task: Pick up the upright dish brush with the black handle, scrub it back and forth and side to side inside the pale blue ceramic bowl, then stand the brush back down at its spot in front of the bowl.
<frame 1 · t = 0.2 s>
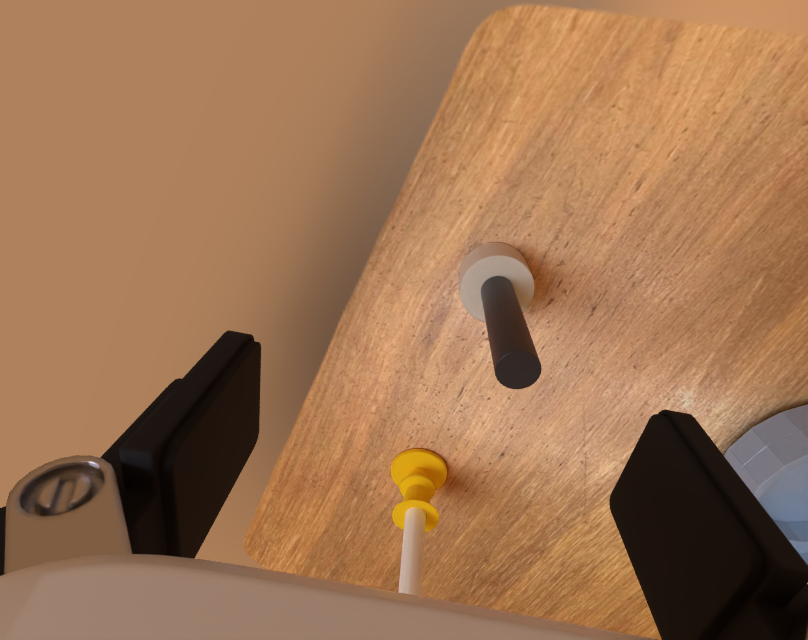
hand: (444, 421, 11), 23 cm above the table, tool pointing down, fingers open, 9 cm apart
candle: (419, 467, 43), on the table
bowl: (804, 467, 39), on the table
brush: (492, 275, 34), on the table
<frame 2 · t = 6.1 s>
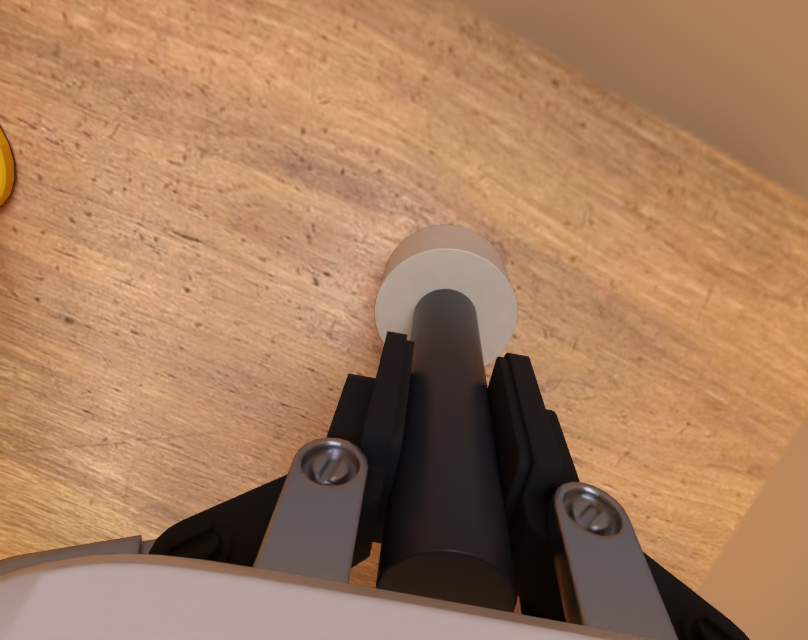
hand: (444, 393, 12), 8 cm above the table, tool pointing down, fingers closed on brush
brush: (444, 285, 19), on the table, touching gripper
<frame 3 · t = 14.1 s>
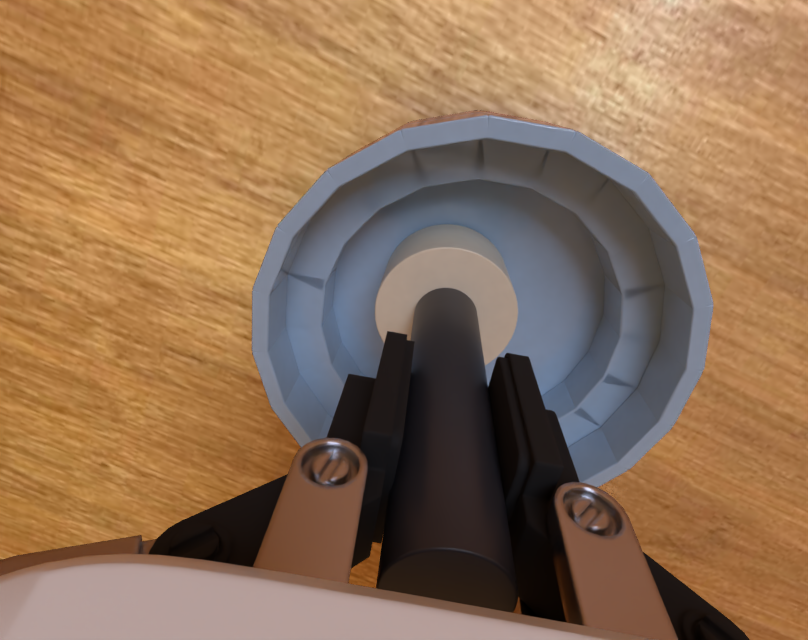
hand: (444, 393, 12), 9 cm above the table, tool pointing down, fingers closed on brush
bowl: (464, 301, 20), on the table
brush: (445, 284, 19), point 1 cm above the table, touching gripper
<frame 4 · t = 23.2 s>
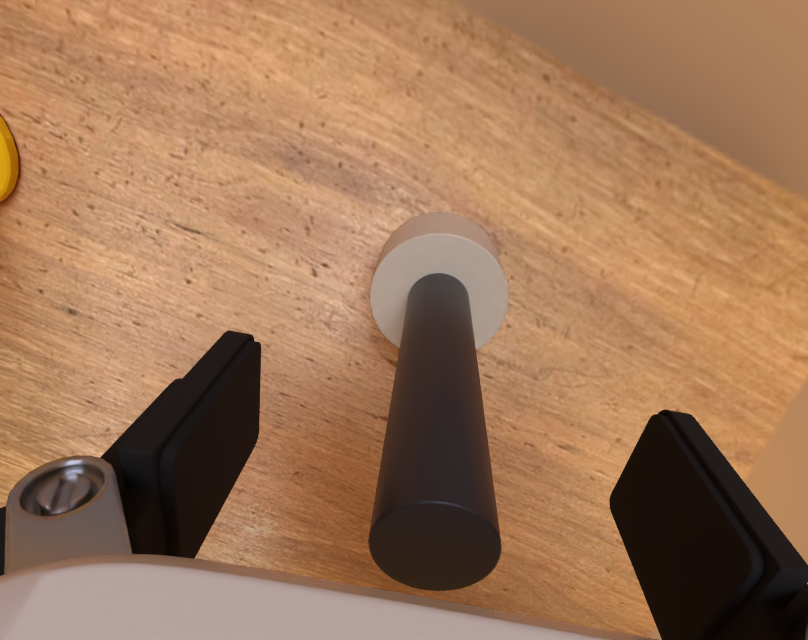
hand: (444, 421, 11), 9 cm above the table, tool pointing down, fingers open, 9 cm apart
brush: (438, 271, 19), on the table
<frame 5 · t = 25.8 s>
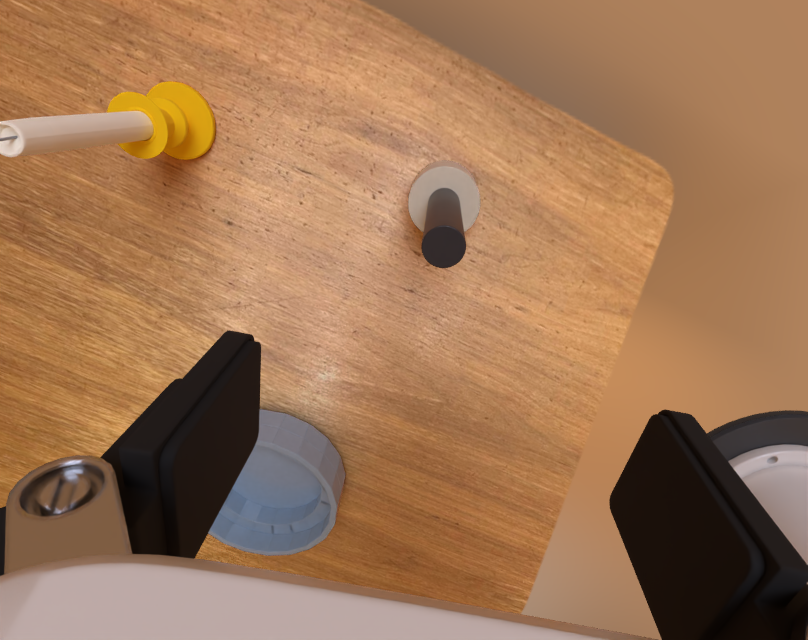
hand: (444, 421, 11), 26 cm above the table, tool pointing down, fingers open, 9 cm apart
candle: (182, 121, 34), on the table
bowl: (274, 463, 48), on the table
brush: (444, 195, 34), on the table
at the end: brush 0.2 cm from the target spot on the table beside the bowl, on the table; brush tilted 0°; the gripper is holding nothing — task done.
